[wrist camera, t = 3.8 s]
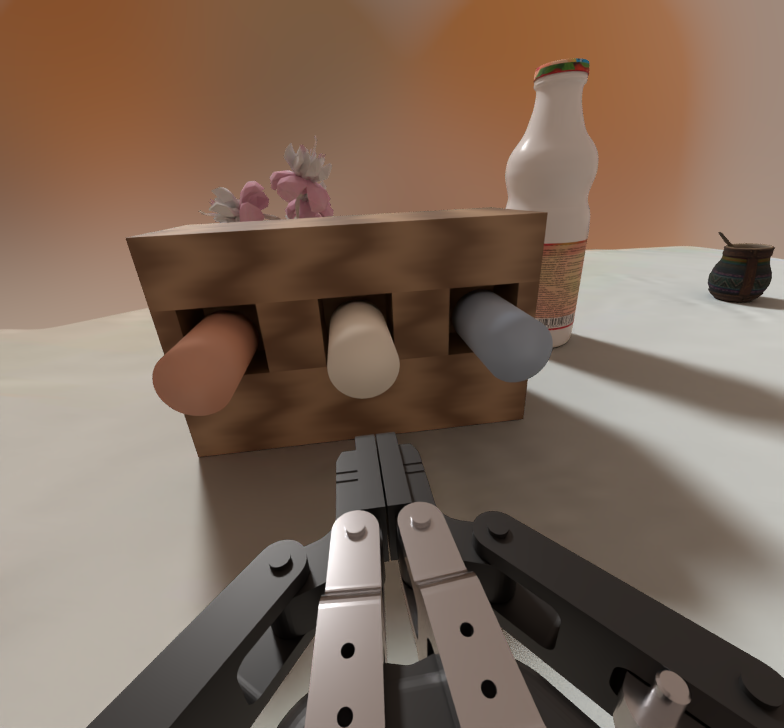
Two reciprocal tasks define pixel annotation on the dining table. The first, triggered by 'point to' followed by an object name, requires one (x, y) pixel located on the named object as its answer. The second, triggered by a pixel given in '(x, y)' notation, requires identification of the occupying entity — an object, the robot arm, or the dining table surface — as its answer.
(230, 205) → the flower
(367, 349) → the cream button
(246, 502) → the dining table surface
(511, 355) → the slate-blue button
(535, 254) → the block
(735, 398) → the dining table surface
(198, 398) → the terracotta button
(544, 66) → the fruit juice
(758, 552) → the dining table surface
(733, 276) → the mate gourd
